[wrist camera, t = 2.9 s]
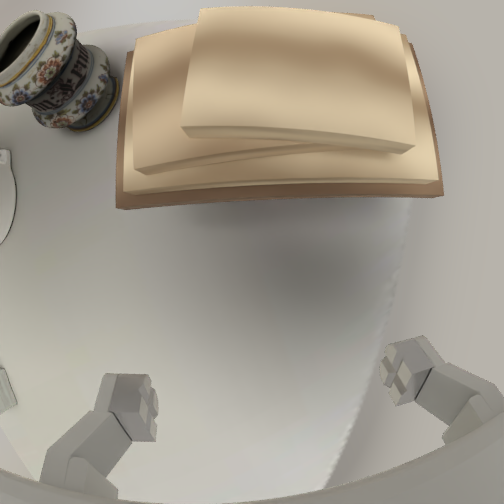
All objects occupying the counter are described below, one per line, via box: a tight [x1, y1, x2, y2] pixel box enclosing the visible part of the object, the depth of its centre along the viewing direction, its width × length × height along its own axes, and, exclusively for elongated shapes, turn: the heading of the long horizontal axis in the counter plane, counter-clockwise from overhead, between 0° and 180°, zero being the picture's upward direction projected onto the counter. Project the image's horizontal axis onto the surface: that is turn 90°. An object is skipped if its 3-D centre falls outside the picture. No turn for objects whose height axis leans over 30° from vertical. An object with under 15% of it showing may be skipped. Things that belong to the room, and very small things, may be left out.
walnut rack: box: [116, 43, 444, 210], centre depth 25 cm, size 12×22×16 cm, turn 93°
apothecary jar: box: [0, 10, 119, 132], centre depth 25 cm, size 12×12×18 cm
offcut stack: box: [123, 6, 439, 195], centre depth 15 cm, size 11×19×5 cm, turn 93°
